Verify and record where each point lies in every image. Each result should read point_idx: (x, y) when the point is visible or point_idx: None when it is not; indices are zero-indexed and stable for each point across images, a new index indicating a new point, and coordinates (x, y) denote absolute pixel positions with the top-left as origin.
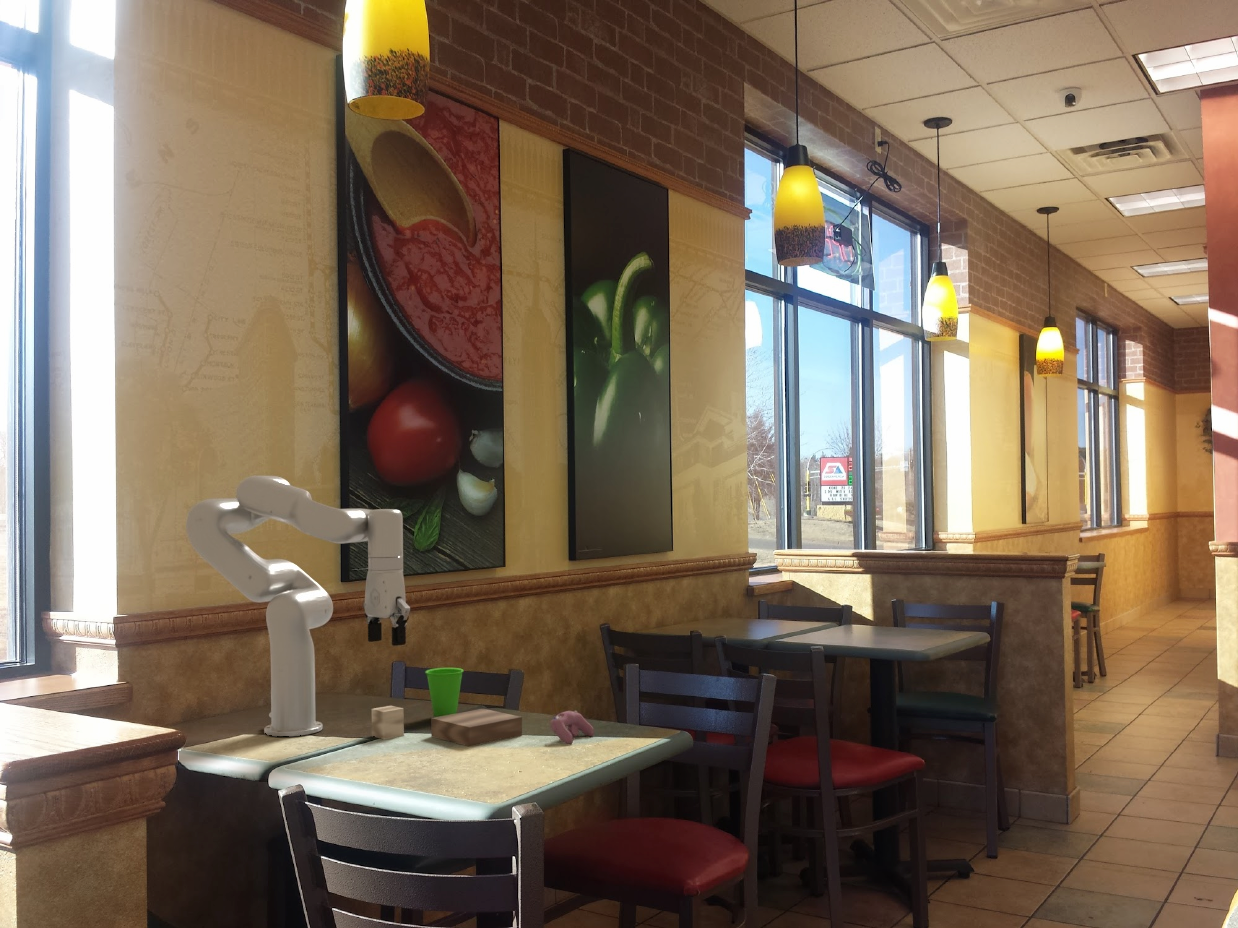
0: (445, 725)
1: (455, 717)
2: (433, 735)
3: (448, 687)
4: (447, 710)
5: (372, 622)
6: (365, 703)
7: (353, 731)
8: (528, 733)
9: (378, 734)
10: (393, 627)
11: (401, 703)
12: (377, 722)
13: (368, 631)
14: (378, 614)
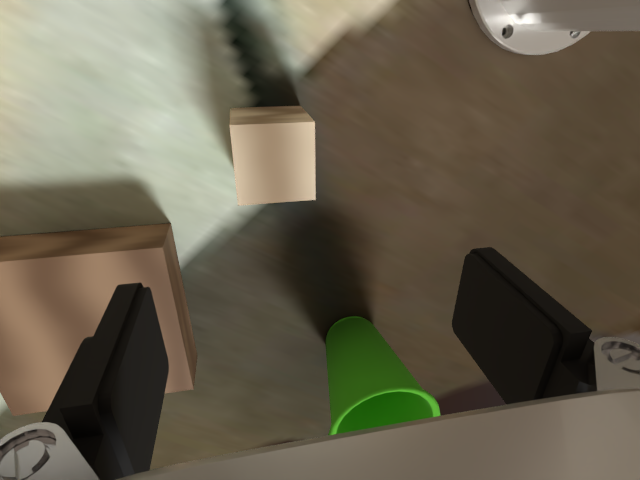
0: (83, 248)
1: None
2: (160, 225)
3: (333, 390)
4: (329, 344)
5: (567, 373)
6: (613, 274)
7: (394, 97)
8: None
9: (262, 108)
10: (64, 412)
11: None
12: (271, 115)
13: (528, 286)
14: (302, 475)
